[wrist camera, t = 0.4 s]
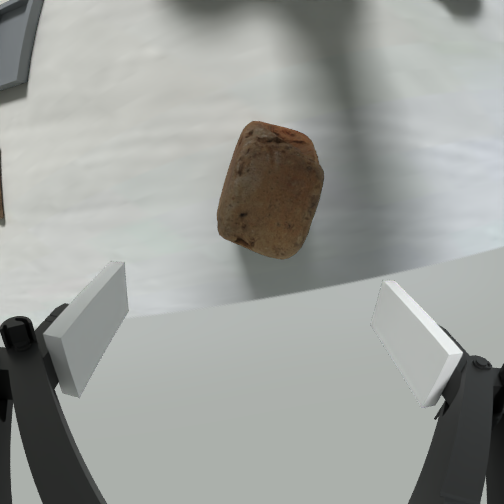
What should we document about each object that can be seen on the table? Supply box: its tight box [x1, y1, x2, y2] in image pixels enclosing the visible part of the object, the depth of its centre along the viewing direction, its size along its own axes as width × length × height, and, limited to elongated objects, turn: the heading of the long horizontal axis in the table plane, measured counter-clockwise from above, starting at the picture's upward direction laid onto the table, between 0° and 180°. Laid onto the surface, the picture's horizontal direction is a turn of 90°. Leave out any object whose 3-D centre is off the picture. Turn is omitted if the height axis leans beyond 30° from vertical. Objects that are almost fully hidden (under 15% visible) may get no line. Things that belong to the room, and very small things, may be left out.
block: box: [217, 121, 324, 259], centre depth 30 cm, size 11×8×20 cm
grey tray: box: [0, 0, 44, 91], centre depth 28 cm, size 17×11×3 cm, turn 177°
